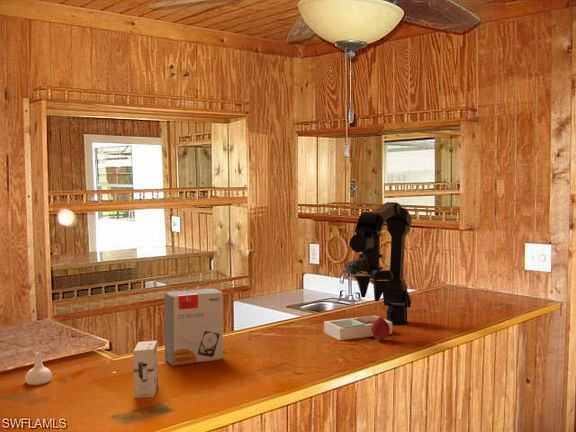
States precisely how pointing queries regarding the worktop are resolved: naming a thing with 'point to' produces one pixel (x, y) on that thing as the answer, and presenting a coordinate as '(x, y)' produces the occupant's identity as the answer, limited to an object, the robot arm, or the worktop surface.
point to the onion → (380, 328)
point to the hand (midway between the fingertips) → (369, 299)
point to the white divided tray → (352, 327)
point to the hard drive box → (193, 326)
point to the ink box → (145, 369)
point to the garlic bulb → (38, 373)
